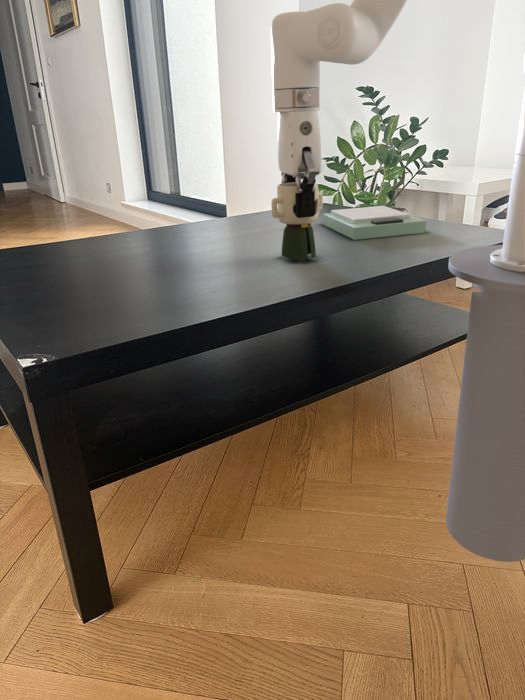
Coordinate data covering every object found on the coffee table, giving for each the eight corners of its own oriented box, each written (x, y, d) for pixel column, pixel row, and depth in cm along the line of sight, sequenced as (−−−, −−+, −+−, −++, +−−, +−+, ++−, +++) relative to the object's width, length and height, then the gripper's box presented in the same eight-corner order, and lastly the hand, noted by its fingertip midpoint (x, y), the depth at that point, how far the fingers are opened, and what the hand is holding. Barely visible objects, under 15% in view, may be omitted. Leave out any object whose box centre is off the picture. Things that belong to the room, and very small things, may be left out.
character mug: (286, 268, 94) (284, 189, 88) (262, 260, 99) (259, 186, 94) (334, 257, 99) (335, 182, 94) (309, 250, 104) (309, 179, 99)
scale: (425, 232, 115) (426, 216, 113) (354, 240, 111) (354, 223, 110) (386, 218, 131) (387, 204, 129) (323, 224, 127) (323, 210, 126)
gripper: (338, 99, 82) (336, 219, 89) (301, 102, 97) (302, 204, 104) (289, 101, 80) (292, 223, 87) (260, 104, 96) (264, 207, 103)
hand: (298, 212), depth 96 cm, fingers closed on character mug, 7 cm apart
